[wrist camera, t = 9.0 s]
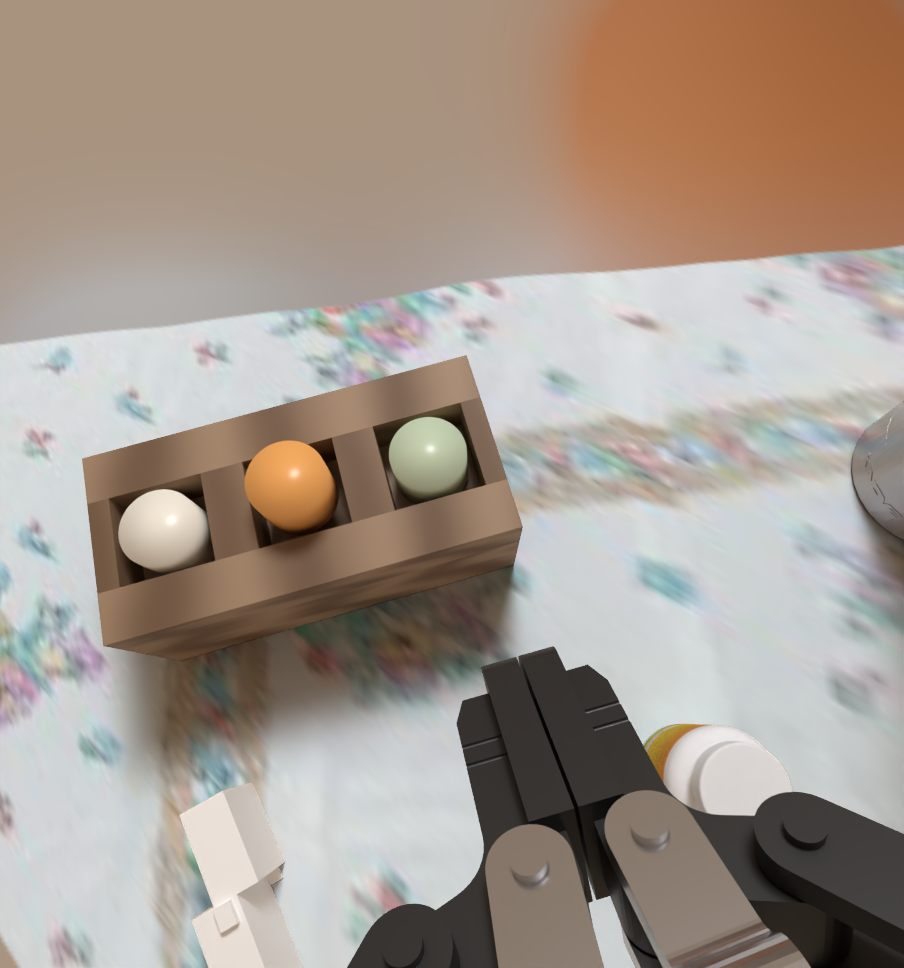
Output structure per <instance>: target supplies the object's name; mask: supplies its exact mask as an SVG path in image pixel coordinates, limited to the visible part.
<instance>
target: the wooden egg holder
mask: <svg viewBox="0 0 904 968" xmlns="http://www.w3.org/2000/svg"><path fill="white" fill-rule="evenodd" d="M422 417H435V418H440V419H443V420H445V421H447V422H449V423H451V424H452V425H454V426H455V427H456V428H457V429H458V430H459V431H460V433H461V434H462V436H463V438H464V440H465V443H466V447H467V465H468V477H467V481H466V484H465V487H464V489H463V490H462V492H459V493H456V494H452V495H449V496H445V497H442V498H438V499H434V500H431V501H427V502H424V503H420V504H415V503H413V502H411V501H409V500H408V499H407V498H406V497H405V496H404V495H403V494H402V493H401V491H400V489H399V487H398V485H397V482H396V479H395V476H394V473H393V471H392V468H391V465H390V461H389V448H390V444H391V441H392V439H393V437H394V435H395V434H396V433H397V431H398V430H399V429H400V428H401V427H402V426H404V425H405V424H407V423H408V422H410V421H412V420H415V419H418V418H422ZM281 441H299V442H302V443H305V444H307V445H309V446H311V447H312V448H313V449H315V450H316V451H317V452H318V453H319V454H320V456H321V457H322V459H323V461H324V462H325V464H326V466H327V467H328V469H329V471H330V472H331V474H332V476H333V477H334V479H335V481H336V483H337V486H338V491H339V499H338V505H337V508H336V510H335V512H334V514H333V516H332V517H331V519H330V520H329V521H328V522H327V523H326V524H325V525H324V526H322V527H321V528H319V529H318V530H316V531H314V532H311V533H307V534H301V535H294V534H288V533H285V532H283V531H281V530H279V529H277V528H276V527H275V526H274V525H272V524H271V523H270V522H269V521H268V520H267V519H266V518H265V517H264V516H263V515H262V514H261V513H260V512H259V511H257V510H256V509H255V508H254V507H253V505H252V504H251V503H250V501H249V499H248V497H247V495H246V491H245V475H246V471H247V469H248V466H249V464H250V463H251V461H252V460H253V458H254V457H255V456H256V455H257V454H258V453H259V452H260V451H261V450H263V449H264V448H266V447H267V446H269V445H271V444H274V443H277V442H281ZM82 461H83V470H84V479H85V487H86V496H87V505H88V514H89V523H90V531H91V540H92V549H93V558H94V567H95V576H96V584H97V593H98V602H99V611H100V620H101V629H102V637H103V646H107V647H112V648H117V649H122V650H127V651H133V652H138V653H143V654H148V655H153V656H159V657H164V658H169V659H174V660H179V661H181V660H184V659H188V658H191V657H195V656H198V655H202V654H205V653H209V652H212V651H215V650H219V649H222V648H226V647H229V646H233V645H236V644H240V643H243V642H247V641H250V640H254V639H257V638H261V637H264V636H268V635H271V634H275V633H278V632H282V631H285V630H289V629H292V628H296V627H299V626H303V625H306V624H309V623H313V622H316V621H320V620H323V619H327V618H330V617H334V616H337V615H341V614H344V613H348V612H351V611H355V610H358V609H362V608H365V607H369V606H372V605H376V604H379V603H383V602H386V601H390V600H393V599H397V598H400V597H404V596H407V595H410V594H414V593H417V592H421V591H424V590H428V589H431V588H435V587H438V586H442V585H445V584H449V583H452V582H456V581H459V580H463V579H466V578H470V577H473V576H477V575H480V574H484V573H487V572H491V571H494V570H498V569H501V568H505V567H508V566H511V565H514V562H515V558H516V553H517V549H518V545H519V540H520V536H521V532H522V527H523V526H522V523H521V520H520V517H519V514H518V511H517V508H516V505H515V502H514V499H513V496H512V493H511V490H510V487H509V484H508V481H507V478H506V474H505V471H504V468H503V465H502V462H501V459H500V456H499V453H498V450H497V447H496V444H495V441H494V438H493V435H492V432H491V429H490V426H489V423H488V419H487V416H486V413H485V410H484V407H483V404H482V401H481V398H480V395H479V392H478V389H477V386H476V383H475V380H474V377H473V374H472V371H471V368H470V365H469V361H468V358H467V355H466V356H462V357H458V358H455V359H451V360H447V361H444V362H440V363H436V364H432V365H429V366H425V367H421V368H417V369H414V370H410V371H406V372H403V373H399V374H395V375H391V376H388V377H384V378H380V379H377V380H373V381H369V382H365V383H362V384H358V385H354V386H351V387H347V388H343V389H339V390H336V391H332V392H328V393H325V394H321V395H317V396H313V397H310V398H306V399H302V400H299V401H295V402H291V403H287V404H284V405H280V406H276V407H273V408H269V409H265V410H261V411H258V412H254V413H250V414H247V415H243V416H239V417H235V418H232V419H228V420H224V421H220V422H217V423H213V424H209V425H206V426H202V427H198V428H194V429H191V430H187V431H183V432H180V433H176V434H172V435H168V436H165V437H161V438H157V439H154V440H150V441H146V442H142V443H139V444H135V445H131V446H128V447H124V448H120V449H116V450H113V451H109V452H105V453H102V454H98V455H94V456H90V457H87V458H83V459H82ZM161 489H166V490H173V491H176V492H179V493H181V494H183V495H184V496H186V497H187V498H188V499H190V500H191V501H192V502H194V503H195V504H196V505H198V506H199V507H200V508H201V509H203V510H204V511H205V512H207V515H208V521H209V527H210V533H211V539H212V544H213V550H214V557H213V559H212V560H211V562H209V563H206V564H202V565H199V566H195V567H192V568H188V569H185V570H181V571H177V572H174V573H170V574H167V575H161V574H159V573H157V572H155V571H153V570H150V569H148V568H146V567H144V566H141V565H139V564H137V563H135V562H133V561H132V560H131V559H129V558H128V557H127V556H126V554H125V553H124V552H123V550H122V548H121V546H120V543H119V536H118V531H119V525H120V521H121V518H122V516H123V514H124V512H125V511H126V509H127V508H128V507H129V506H130V504H131V503H133V502H134V501H135V500H136V499H137V498H139V497H140V496H142V495H144V494H146V493H148V492H151V491H155V490H161Z"/></svg>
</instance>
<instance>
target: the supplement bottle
mask: <svg viewBox="0 0 904 968" xmlns="http://www.w3.org/2000/svg"><path fill="white" fill-rule="evenodd" d="M643 746H644V748H645V750H646V752H647V754H648V755H649V757H650V759H651V761H652V763H653V765H654V767H655V768H656V770H657V772H658V774H659V776H660V778H661V779H662V781H663V783H664V785H665V786H666V788H667V789H668V790H669V791H670V793H671V794H672V795H673V796H674V797H676V798H677V799H678V800H679V801H681V802H682V803H684V804H685V805H687V806H689V807H691V808H693V809H695V810H698V811H701V812H704V813H709V814H716V815H748V816H755V813H756V811H757V809H758V807H759V806H760V805H761V804H762V803H763V802H764V801H765V800H766V799H768V798H770V797H771V796H774V795H776V794H779V793H785V792H793V789H792V785H791V782H790V779H789V776H788V774H787V773H786V771H785V769H784V767H783V766H782V765H781V763H780V762H779V761H778V760H777V759H776V758H775V757H774V756H773V755H772V754H771V753H769V752H768V751H767V750H766V749H765V748H764V747H763V746H762V745H761V744H760V743H759V742H758V741H757V740H756V739H754V738H753V737H751V736H750V735H748V734H746V733H744V732H742V731H740V730H738V729H735V728H732V727H727V726H721V725H698V724H675V725H669V726H666V727H663V728H661V729H659V730H657V731H656V732H654V733H653V734H652V735H651V736H650V737H649V738H648V739H647V740H646V741H645V743H644V744H643Z"/></svg>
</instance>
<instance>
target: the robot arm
mask: <svg viewBox="0 0 904 968" xmlns="http://www.w3.org/2000/svg"><path fill="white" fill-rule="evenodd" d="M852 473H853V480H854V485H855V487H856V490H857V493H858V495H859V498H860V500H861V501H862V503H863V504H864V506H865V507H866V509H867V511H868V512H869V513H870V514H871V515H872V516H873V518H874V519H875V520H876V521H877V522H878V523H879V524H880V525H881V526H883V527H884V528H885V529H887V530H888V531H889V532H891V533H892V534H893V535H895V536H897V537H899V538H901V539H903V540H904V401H903V402H902V403H900V404H899V405H897V406H896V407H895V408H893V409H892V410H891V411H889V412H888V413H887V414H885V415H884V416H883V417H881V418H880V419H879V420H877V421H876V422H875V423H874V424H872V425H871V426H870V427H869V428H868V429H867V430H866V431H865V432H864V433H863V435H862V436H861V438H860V439H859V441H858V442H857V445H856V448H855V451H854V454H853V461H852ZM519 664H520V665H519ZM481 669H482V673H483V677H484V681H485V685H486V689H487V693H488V694H485V695H481V696H478V697H474V698H471V699H467V700H464V701H462V705H461V709H460V713H459V717H458V720H457V727H458V731H459V736H460V740H461V744H462V748H463V753H464V757H465V762H466V766H467V770H468V775H469V779H470V783H471V788H472V792H473V796H474V801H475V805H476V809H477V814H478V818H479V822H480V827H481V831H482V835H483V841H484V854H483V859H482V862H481V865H480V868H479V870H478V872H477V874H476V876H475V877H474V879H473V880H472V881H471V883H470V884H469V885H468V886H467V887H466V888H465V889H464V890H463V891H462V892H461V893H459V894H458V895H457V896H456V897H454V898H453V899H451V900H450V901H448V902H447V903H446V904H444V905H443V906H441V907H440V908H438V909H437V910H434V909H432V908H430V907H428V906H425V905H421V904H406V905H402V906H399V907H396V908H394V909H392V910H390V911H388V912H387V913H385V914H384V915H383V916H381V917H380V918H379V919H378V920H377V921H376V922H375V923H374V924H373V925H372V927H371V928H370V930H369V931H368V933H367V934H366V936H365V938H364V939H363V941H362V943H361V945H360V946H359V948H358V950H357V951H356V953H355V955H354V957H353V958H352V960H351V962H350V964H349V965H348V967H347V968H604V966H603V962H602V958H601V955H600V951H599V947H598V943H597V940H596V936H595V932H594V929H593V924H592V919H591V914H590V909H589V905H588V903H589V902H592V901H593V900H592V895H591V890H590V885H589V881H590V883H591V886H592V889H593V892H594V894H595V897H596V900H598V899H601V898H604V897H608V896H611V899H612V901H613V904H614V907H615V909H616V912H617V914H618V917H619V920H620V923H621V928H622V934H623V939H624V943H625V946H626V948H627V950H628V953H629V955H630V957H631V959H632V961H633V963H634V966H635V968H904V834H902V833H900V832H898V831H895V830H893V829H891V828H889V827H886V826H884V825H882V824H879V823H877V822H875V821H873V820H870V819H868V818H866V817H863V816H861V815H859V814H857V813H854V812H852V811H850V810H847V809H845V808H843V807H841V806H838V805H836V804H834V803H831V802H829V801H827V800H824V799H822V798H820V797H817V796H814V795H811V794H807V793H801V792H785V793H779V794H776V795H774V796H771V797H770V798H768V799H766V800H765V801H764V802H763V803H762V804H761V805H760V806H759V807H758V809H757V811H756V813H755V816H748V815H716V814H709V813H704V812H701V811H698V810H695V809H693V808H691V807H689V806H687V805H685V804H684V803H682V802H681V801H679V800H678V799H677V798H676V797H674V796H673V795H672V794H671V793H670V791H669V790H668V789H667V788H666V786H665V785H664V783H663V781H662V779H661V778H660V776H659V774H658V772H657V770H656V768H655V767H654V765H653V763H652V761H651V759H650V757H649V755H648V754H647V752H646V750H645V748H644V746H643V744H642V743H641V741H640V739H639V737H638V735H637V733H636V731H635V730H634V728H633V726H632V724H631V722H630V721H629V720H628V717H627V715H626V713H625V711H624V709H623V708H622V706H621V704H620V703H619V700H618V698H617V696H616V695H615V693H614V691H613V689H612V687H611V685H610V684H609V682H608V680H607V679H606V678H604V677H603V676H602V675H600V674H599V673H598V672H596V671H595V670H594V669H592V668H591V667H590V666H588V665H585V666H582V667H578V668H575V669H571V670H568V671H566V670H565V668H564V666H563V663H562V661H561V659H560V657H559V655H558V653H557V651H556V649H555V647H549V648H546V649H542V650H539V651H535V652H532V653H528V654H524V655H521V656H519V663H518V660H517V658H516V657H515V658H511V659H508V660H504V661H501V662H497V663H493V664H490V665H486V666H483V667H481ZM588 878H589V880H588Z"/></svg>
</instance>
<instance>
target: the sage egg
mask: <svg viewBox="0 0 904 968" xmlns="http://www.w3.org/2000/svg"><path fill="white" fill-rule="evenodd" d="M389 461H390V465H391V468H392V471H393V473H394V476H395V479H396V482H397V485H398V487H399V489H400V491H401V493H402V494H403V495H404V496H405V497H406V498H407V499H408V500H409V501H411V502H413V503H415V504H420V503H424V502H427V501H431V500H434V499H438V498H442V497H445V496H449V495H452V494H456V493H459V492H462V490H463V489H464V487H465V484H466V481H467V477H468V465H467V447H466V443H465V440H464V438H463V436H462V434H461V433H460V431H459V430H458V429H457V428H456V427H455V426H454V425H452V424H451V423H449V422H447V421H445V420H443V419H440V418H435V417H422V418H418V419H415V420H412V421H410V422H408V423H407V424H405V425H404V426H402V427H401V428H400V429H399V430H398V431H397V433H396V434H395V435H394V437H393V439H392V441H391V444H390V448H389Z"/></svg>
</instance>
